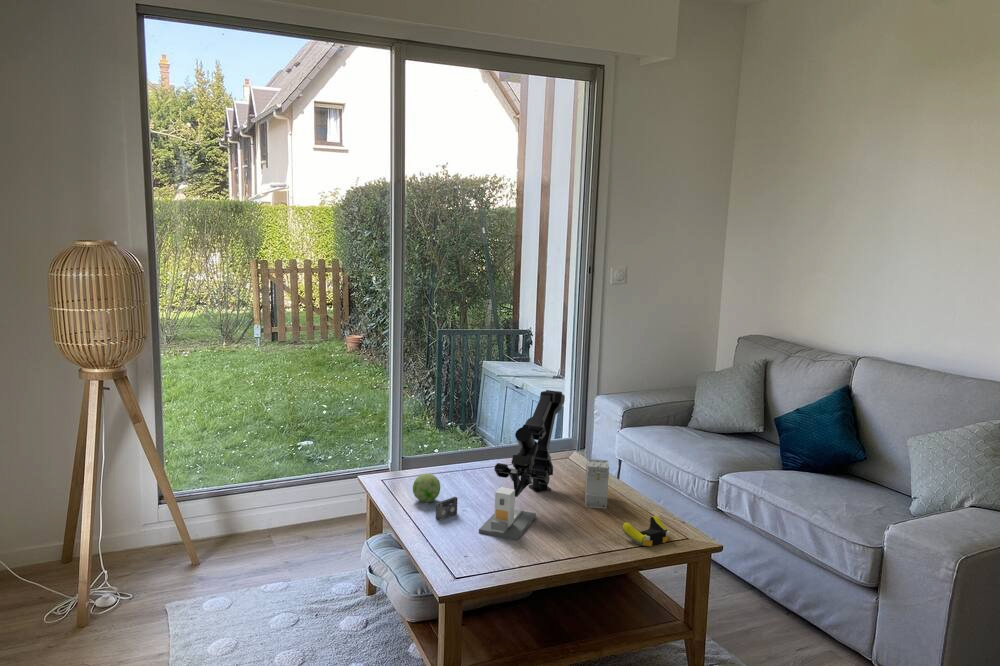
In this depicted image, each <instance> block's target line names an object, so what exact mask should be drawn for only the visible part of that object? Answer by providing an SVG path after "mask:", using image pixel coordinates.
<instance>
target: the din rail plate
mask: <svg viewBox="0 0 1000 666" xmlns="http://www.w3.org/2000/svg"><path fill="white" fill-rule="evenodd" d="M494 516H495V512H494V513H493V514H492V515H491V516H490V517H489V518H488V519H487V520H486V521H485V522H484V523H483V524H482V526H481V527H480V528H479V529H478V534H482V533H483V534H484V535H489V536H493V537H498V538H504V539H510V540H514V541H518V540H519V539H520V537H521V536H522V535H521V534H523V533H525V531H526V530H527V528H528V527H529V526H530V525H531V524H532V522H533V521H534V520H535V518H536V517H537V513H535V512H531V511H527V510H526V511H525V510H523V509H522V508H519V507H514V522H513V525H512V526H511V527H510V528H509V529H508V527H507V523H506V522H501V521H495V520H494Z"/></svg>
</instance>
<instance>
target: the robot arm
mask: <svg viewBox="0 0 1000 666" xmlns="http://www.w3.org/2000/svg"><path fill="white" fill-rule="evenodd" d="M565 398H566V397H565V394H563V391H558V390H551V389H546V390H544V391H541V392H540V394H539V400H538V403H537V405H536V407H535V410H534V413H533V415H532V416H531V417H529V418H528V419H527V420H526V421H525V424H523V425H522V426H521V427H520V428H518V429H517V430H516V431H515V436H514V437H515V439H516V442H517V443H518V446H519V447H520V449H519V453H517V454H512V458H511V465H512V468H510V467H509V466H508V464H507V463H506V464H505V463H502V462H501V463H500V462H497V463H496V464H495V466H494V468H493V469H494V472H495V474H496V476H497V477H499V478H505V479H506V478H508V477H510V479H511V481H512V483H513V489H515V498H517V497H519V496H520V495H521V493H522V492H524V489H526V487H528V488H530V489H531V490H533V491H534V492H535V493H538V492H539V493H540V492H547V491H551V490H552V488H551V487H550V486H548V485H549V483H550V476H553V475H554V465H553V463H552V460H551V459H552V456H551V454H550V450H549V449H550V443H551V439H552V434H553V430H554V425H555V420H556V415H557V414H558V413H559V412H560V411H561V410H562V407H563V405H564V403H565Z"/></svg>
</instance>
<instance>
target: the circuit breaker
mask: <svg viewBox="0 0 1000 666" xmlns="http://www.w3.org/2000/svg"><path fill="white" fill-rule="evenodd" d="M609 465H610V464H609V460H607V459H593V458H587V459H586V467H585V468H586V469H585V484H584V485H585V494H584V502H585V504H584V507H585V508H592V509H593V508H597V509H607V508H608V507H607V506H608V491H609V489H608V488H609V478H610V466H609ZM603 506H604V507H603Z"/></svg>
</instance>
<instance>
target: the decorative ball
mask: <svg viewBox="0 0 1000 666" xmlns="http://www.w3.org/2000/svg"><path fill="white" fill-rule="evenodd" d="M440 482H441V481H440V480H439V479H438V477H437V476H435V475H434V474H431V473H422V474H420V475H418V476H417V477H416V478H415V479H414V481H413V484H412V493H413V495H414V497H415V498H416V499H417V500H418V501H420V502H423V503H431V502H433V501H434V500H436V499H437V498H438V497H439V495H440V491H441V483H440Z"/></svg>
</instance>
